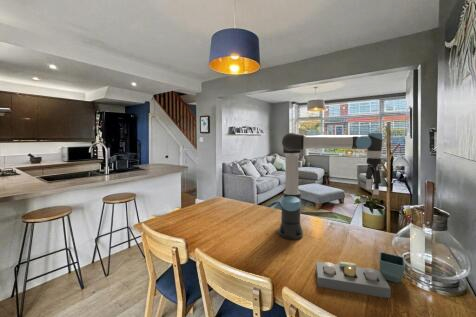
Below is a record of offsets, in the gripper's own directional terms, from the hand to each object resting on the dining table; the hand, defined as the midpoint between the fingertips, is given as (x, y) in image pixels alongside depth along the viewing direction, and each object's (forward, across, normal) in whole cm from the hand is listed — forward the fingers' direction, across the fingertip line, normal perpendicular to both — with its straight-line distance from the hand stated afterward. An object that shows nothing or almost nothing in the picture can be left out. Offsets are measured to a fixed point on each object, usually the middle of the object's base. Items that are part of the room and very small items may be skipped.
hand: (372, 191), depth 134 cm
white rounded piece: (+26, -53, +31) cm, 67 cm away
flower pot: (+28, -46, +5) cm, 54 cm away
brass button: (+26, -53, +23) cm, 64 cm away
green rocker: (+24, -49, +23) cm, 59 cm away
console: (+28, -53, +23) cm, 64 cm away
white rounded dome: (+26, -53, +15) cm, 61 cm away
